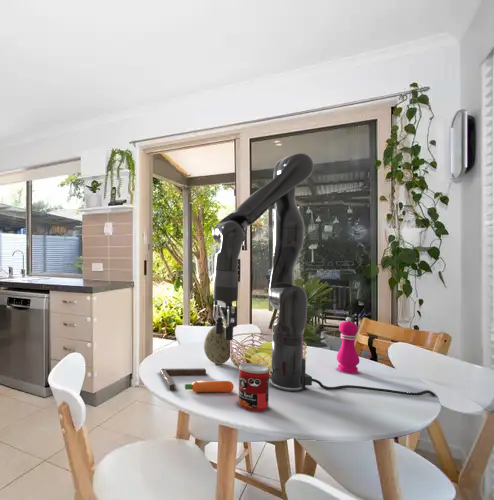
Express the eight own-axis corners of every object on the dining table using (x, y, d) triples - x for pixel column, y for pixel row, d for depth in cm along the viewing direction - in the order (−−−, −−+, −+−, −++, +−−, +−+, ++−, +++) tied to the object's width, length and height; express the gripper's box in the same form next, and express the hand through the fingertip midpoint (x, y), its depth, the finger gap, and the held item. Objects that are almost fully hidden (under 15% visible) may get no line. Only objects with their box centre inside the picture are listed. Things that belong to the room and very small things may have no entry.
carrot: (231, 389, 117) (231, 379, 117) (235, 393, 114) (235, 382, 114) (183, 390, 116) (183, 379, 116) (186, 394, 113) (186, 383, 113)
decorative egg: (236, 368, 139) (236, 327, 140) (207, 367, 140) (207, 327, 140) (227, 359, 150) (228, 322, 150) (201, 359, 150) (201, 321, 150)
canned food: (232, 402, 107) (233, 364, 107) (254, 399, 110) (254, 361, 110) (252, 413, 100) (252, 372, 100) (274, 409, 103) (275, 369, 103)
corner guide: (204, 373, 132) (204, 368, 133) (220, 389, 117) (220, 384, 117) (159, 373, 131) (160, 368, 131) (169, 390, 115) (169, 384, 115)
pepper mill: (359, 370, 140) (360, 317, 140) (359, 375, 134) (360, 319, 134) (336, 366, 144) (337, 314, 144) (336, 371, 138) (337, 317, 138)
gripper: (246, 287, 110) (244, 342, 110) (228, 283, 124) (227, 332, 124) (221, 286, 109) (219, 341, 109) (206, 282, 124) (204, 331, 123)
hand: (223, 336), depth 117 cm, fingers open, 8 cm apart
